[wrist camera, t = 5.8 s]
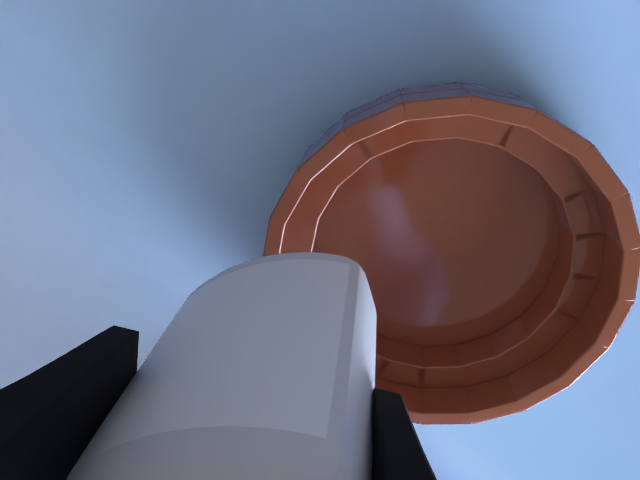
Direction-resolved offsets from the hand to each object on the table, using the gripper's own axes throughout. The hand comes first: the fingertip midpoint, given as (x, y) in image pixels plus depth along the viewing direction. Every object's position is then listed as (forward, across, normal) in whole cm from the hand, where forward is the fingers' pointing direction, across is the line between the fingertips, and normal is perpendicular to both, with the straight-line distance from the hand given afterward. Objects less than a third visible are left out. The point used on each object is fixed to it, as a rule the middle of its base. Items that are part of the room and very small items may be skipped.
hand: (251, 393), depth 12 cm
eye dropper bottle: (+4, 0, 0) cm, 4 cm away
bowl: (+10, -5, 0) cm, 12 cm away
